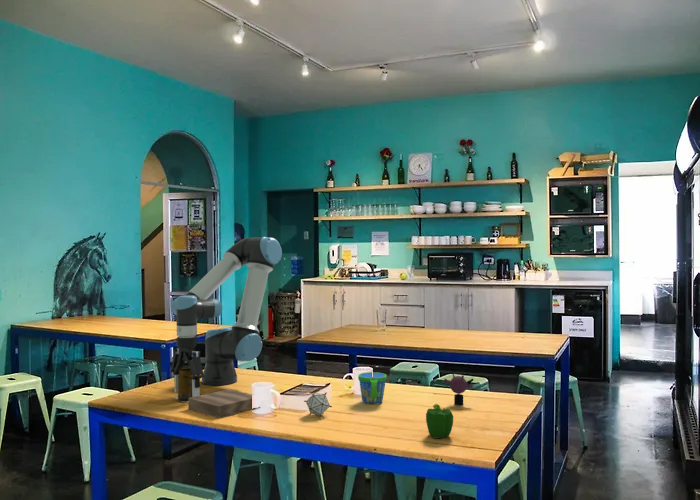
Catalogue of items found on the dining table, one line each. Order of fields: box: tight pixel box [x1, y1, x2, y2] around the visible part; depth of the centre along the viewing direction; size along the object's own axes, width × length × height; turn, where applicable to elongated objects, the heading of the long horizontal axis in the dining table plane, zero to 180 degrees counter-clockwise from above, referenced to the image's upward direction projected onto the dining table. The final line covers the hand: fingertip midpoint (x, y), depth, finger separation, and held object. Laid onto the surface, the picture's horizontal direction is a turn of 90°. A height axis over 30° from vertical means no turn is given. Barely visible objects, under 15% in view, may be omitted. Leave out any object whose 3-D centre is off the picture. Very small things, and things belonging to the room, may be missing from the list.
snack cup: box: [357, 371, 387, 405], centre depth 220 cm, size 16×10×10 cm
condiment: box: [173, 366, 193, 403], centre depth 226 cm, size 7×8×12 cm
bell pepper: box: [425, 403, 454, 439], centre depth 179 cm, size 8×8×10 cm
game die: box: [303, 390, 333, 418], centre depth 202 cm, size 9×8×10 cm
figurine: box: [443, 371, 474, 406], centre depth 217 cm, size 8×8×12 cm
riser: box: [187, 388, 253, 419], centre depth 212 cm, size 18×18×4 cm
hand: (186, 393), depth 226 cm, fingers open, 11 cm apart
